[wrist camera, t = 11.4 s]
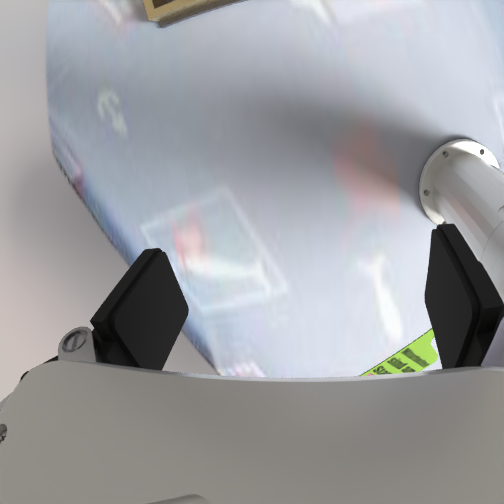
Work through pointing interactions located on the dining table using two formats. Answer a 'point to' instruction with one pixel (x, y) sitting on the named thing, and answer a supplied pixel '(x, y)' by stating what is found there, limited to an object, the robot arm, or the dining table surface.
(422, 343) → the door hanger
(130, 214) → the dining table surface
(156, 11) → the plate
